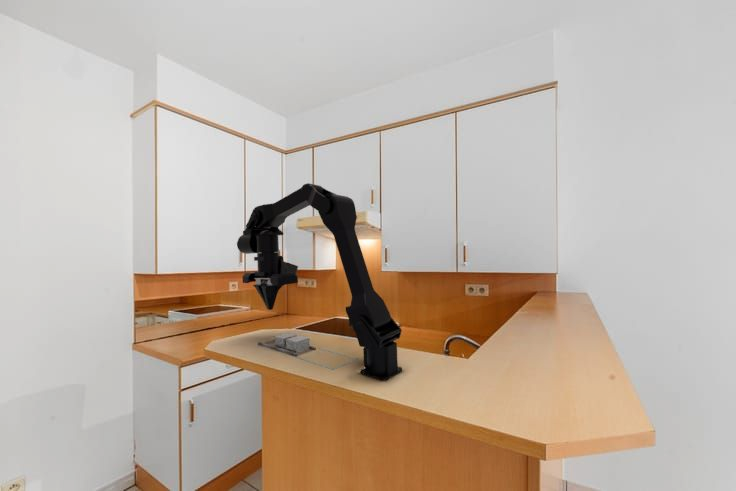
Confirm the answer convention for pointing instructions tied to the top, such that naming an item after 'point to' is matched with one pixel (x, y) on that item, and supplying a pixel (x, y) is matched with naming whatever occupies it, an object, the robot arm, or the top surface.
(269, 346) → the slot board
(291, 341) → the near chip
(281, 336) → the pale grey block
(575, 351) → the top surface
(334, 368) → the tray
